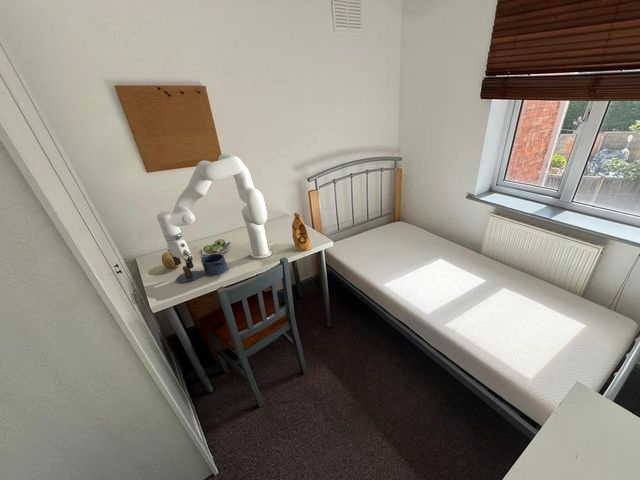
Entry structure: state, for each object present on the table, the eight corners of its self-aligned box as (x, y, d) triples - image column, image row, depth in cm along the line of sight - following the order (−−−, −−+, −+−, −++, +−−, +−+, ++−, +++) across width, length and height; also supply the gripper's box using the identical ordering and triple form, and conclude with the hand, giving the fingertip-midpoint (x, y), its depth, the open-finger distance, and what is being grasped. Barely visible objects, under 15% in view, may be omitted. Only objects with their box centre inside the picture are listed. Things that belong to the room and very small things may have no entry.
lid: (192, 270, 166) (188, 259, 162) (207, 275, 161) (203, 263, 158) (172, 281, 157) (167, 269, 153) (187, 286, 152) (182, 274, 148)
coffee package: (296, 252, 183) (291, 219, 172) (293, 244, 193) (288, 212, 182) (311, 250, 186) (307, 217, 175) (308, 242, 196) (304, 210, 185)
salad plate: (234, 253, 183) (232, 247, 181) (203, 260, 176) (200, 253, 174) (230, 242, 198) (229, 236, 196) (201, 248, 191) (199, 241, 188)
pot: (214, 264, 172) (210, 251, 168) (235, 270, 166) (231, 256, 161) (197, 273, 163) (193, 259, 159) (219, 279, 157) (214, 266, 153)
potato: (168, 273, 163) (163, 261, 159) (161, 265, 172) (156, 253, 167) (187, 267, 169) (182, 255, 165) (179, 259, 177) (175, 247, 173)
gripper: (192, 236, 146) (202, 266, 155) (169, 231, 152) (180, 260, 161) (178, 242, 140) (189, 273, 149) (155, 236, 146) (167, 266, 155)
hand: (184, 266), depth 155 cm, fingers open, 9 cm apart
